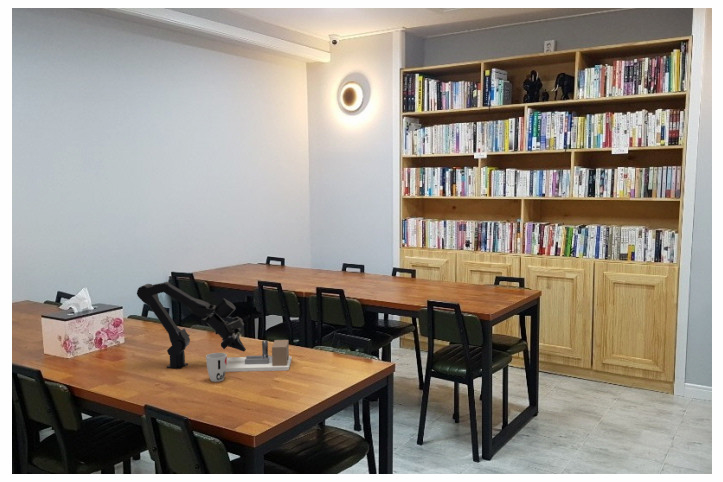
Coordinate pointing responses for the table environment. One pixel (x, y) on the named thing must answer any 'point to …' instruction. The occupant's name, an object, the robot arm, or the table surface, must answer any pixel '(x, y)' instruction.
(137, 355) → the table surface
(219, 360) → the cup
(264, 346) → the bolt
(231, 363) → the base
